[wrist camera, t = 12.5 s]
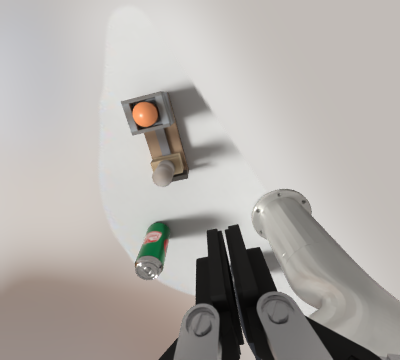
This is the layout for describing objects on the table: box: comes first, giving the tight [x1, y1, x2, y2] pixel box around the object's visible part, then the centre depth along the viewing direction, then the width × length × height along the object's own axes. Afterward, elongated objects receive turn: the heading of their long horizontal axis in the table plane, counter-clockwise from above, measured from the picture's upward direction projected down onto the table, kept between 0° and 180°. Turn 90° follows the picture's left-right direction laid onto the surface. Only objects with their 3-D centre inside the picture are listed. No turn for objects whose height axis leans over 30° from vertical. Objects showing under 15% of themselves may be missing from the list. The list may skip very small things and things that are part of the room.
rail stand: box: [121, 92, 189, 182], centre depth 37 cm, size 15×6×8 cm, turn 13°
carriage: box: [151, 152, 184, 187], centre depth 37 cm, size 3×5×8 cm, turn 103°
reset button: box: [133, 102, 159, 127], centre depth 32 cm, size 3×3×3 cm
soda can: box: [135, 223, 170, 280], centre depth 43 cm, size 5×5×12 cm
